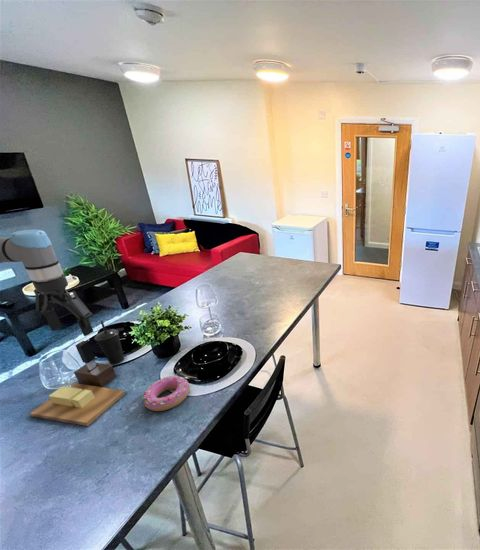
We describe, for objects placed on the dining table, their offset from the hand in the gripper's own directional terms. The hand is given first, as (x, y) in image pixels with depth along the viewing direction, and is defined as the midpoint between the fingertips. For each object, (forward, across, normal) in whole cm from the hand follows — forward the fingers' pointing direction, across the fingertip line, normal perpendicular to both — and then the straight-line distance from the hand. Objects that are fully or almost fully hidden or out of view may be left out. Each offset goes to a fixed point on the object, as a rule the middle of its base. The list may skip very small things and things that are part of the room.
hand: (72, 331), depth 103 cm
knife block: (+24, +1, -1) cm, 24 cm away
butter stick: (+23, -1, +10) cm, 25 cm away
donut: (+25, -32, 0) cm, 41 cm away
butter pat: (+23, -7, +10) cm, 26 cm away
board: (+24, -5, +10) cm, 27 cm away
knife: (+24, +1, -1) cm, 24 cm away
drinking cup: (+25, +4, -12) cm, 28 cm away
